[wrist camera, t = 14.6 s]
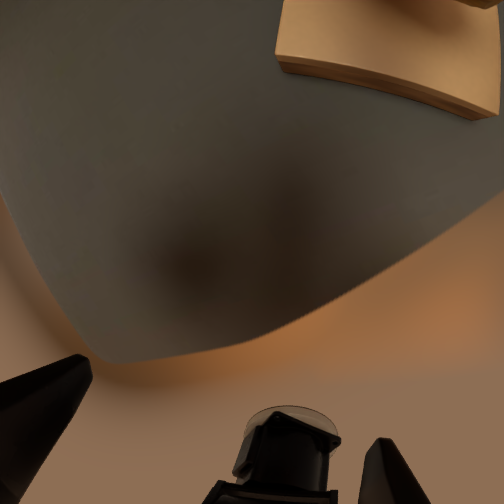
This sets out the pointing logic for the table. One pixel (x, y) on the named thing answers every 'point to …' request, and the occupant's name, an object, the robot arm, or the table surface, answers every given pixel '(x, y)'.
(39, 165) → the table surface
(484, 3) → the decorative stone
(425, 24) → the shoe shelf
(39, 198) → the table surface
